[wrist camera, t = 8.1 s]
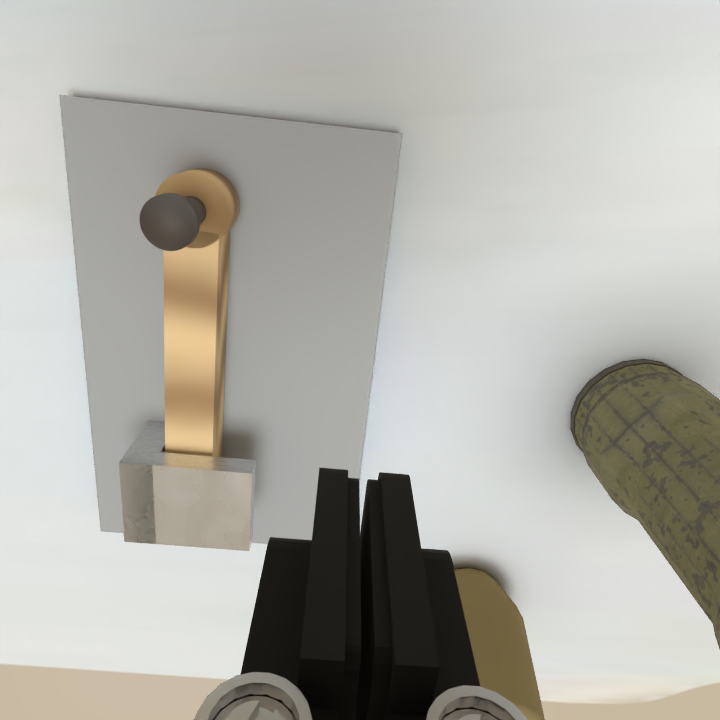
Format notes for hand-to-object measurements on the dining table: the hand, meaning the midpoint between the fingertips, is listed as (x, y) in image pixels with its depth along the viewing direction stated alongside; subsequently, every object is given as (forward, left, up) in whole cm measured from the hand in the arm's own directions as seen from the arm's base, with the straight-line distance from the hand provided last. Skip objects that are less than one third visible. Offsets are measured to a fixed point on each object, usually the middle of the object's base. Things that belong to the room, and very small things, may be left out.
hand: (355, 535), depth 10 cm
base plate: (+8, -8, -27) cm, 29 cm away
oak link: (+7, -9, -25) cm, 28 cm away
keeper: (+16, -9, -26) cm, 32 cm away
